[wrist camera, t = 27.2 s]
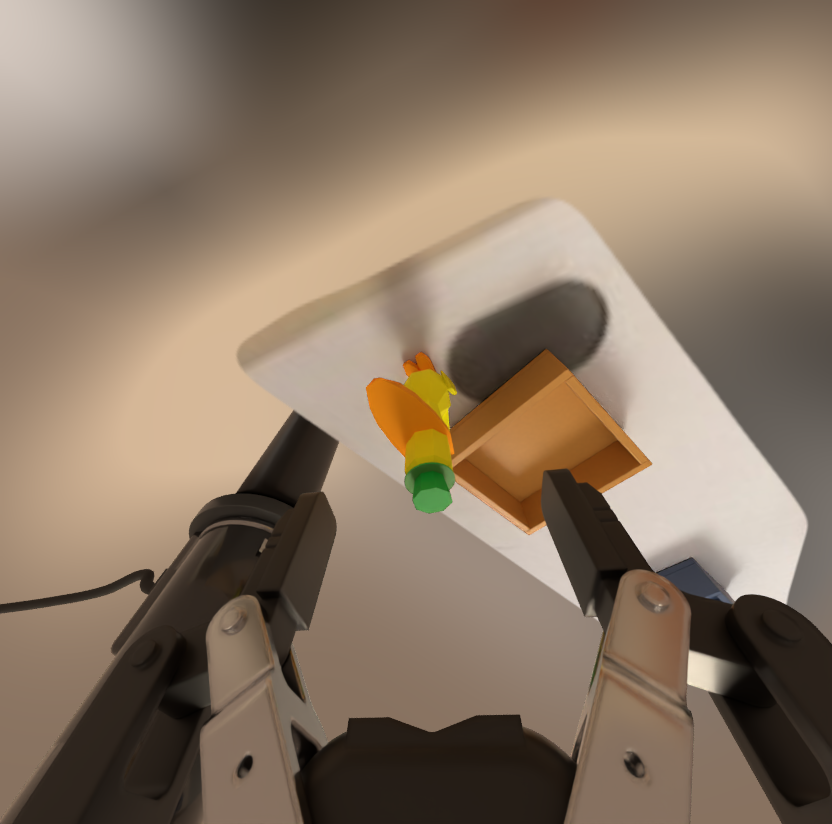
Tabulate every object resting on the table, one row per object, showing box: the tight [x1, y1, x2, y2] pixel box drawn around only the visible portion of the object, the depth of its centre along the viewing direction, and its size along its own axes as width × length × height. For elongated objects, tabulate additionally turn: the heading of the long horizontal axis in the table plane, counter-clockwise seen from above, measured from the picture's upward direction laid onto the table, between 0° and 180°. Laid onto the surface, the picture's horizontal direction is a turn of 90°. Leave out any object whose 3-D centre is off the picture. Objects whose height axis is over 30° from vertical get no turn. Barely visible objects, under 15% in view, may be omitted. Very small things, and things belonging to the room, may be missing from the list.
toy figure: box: [366, 352, 457, 513], centre depth 17 cm, size 7×4×12 cm, turn 37°
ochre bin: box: [450, 349, 652, 535], centre depth 23 cm, size 11×11×4 cm
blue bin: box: [657, 558, 735, 604], centre depth 35 cm, size 10×10×4 cm
